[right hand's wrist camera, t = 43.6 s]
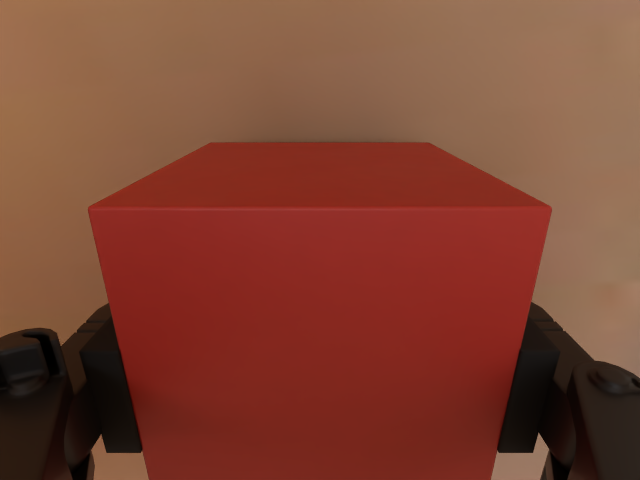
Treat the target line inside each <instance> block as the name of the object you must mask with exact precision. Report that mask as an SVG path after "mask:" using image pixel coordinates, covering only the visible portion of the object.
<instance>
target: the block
mask: <svg viewBox="0 0 640 480" xmlns="http://www.w3.org/2000/svg"><path fill="white" fill-rule="evenodd" d="M551 212H552V208H551V206H549V205H547V204H545V203H543V202H541V201H539V200H537V199H535V198H533V197H532V196H530V195H528V194H526V193H524V192H522V191H520V190H518V189H516V188H514V187H512V186H511V185H509V184H507V183H505V182H503V181H501V180H499V179H497V178H495V177H493V176H491V175H489V174H488V173H486V172H484V171H482V170H480V169H478V168H476V167H474V166H472V165H470V164H468V163H467V162H465V161H463V160H461V159H459V158H457V157H455V156H453V155H451V154H449V153H447V152H446V151H444V150H442V149H440V148H438V147H436V146H434V145H432V144H430V143H209V144H207V145H205V146H203V147H201V148H200V149H198V150H196V151H194V152H192V153H190V154H188V155H186V156H184V157H182V158H181V159H179V160H177V161H175V162H173V163H171V164H169V165H167V166H165V167H163V168H162V169H160V170H158V171H156V172H154V173H152V174H150V175H148V176H146V177H144V178H143V179H141V180H139V181H137V182H135V183H133V184H131V185H129V186H127V187H125V188H124V189H122V190H120V191H118V192H116V193H114V194H112V195H110V196H108V197H106V198H104V199H103V200H101V201H99V202H97V203H95V204H93V205H91V206H89V208H88V213H89V217H90V222H91V226H92V230H93V235H94V239H95V244H96V248H97V252H98V257H99V261H100V266H101V270H102V274H103V279H104V283H105V288H106V292H107V296H108V301H109V305H110V310H111V314H112V318H113V323H114V327H115V332H116V336H117V341H118V345H119V349H120V353H121V358H122V362H123V367H124V371H125V375H126V380H127V384H128V389H129V393H130V397H131V402H132V406H133V411H134V415H135V419H136V424H137V428H138V433H139V437H140V441H141V446H142V451H143V455H144V460H145V464H146V468H147V473H148V477H149V480H491V476H492V471H493V467H494V463H495V458H496V454H497V447H498V443H499V438H500V434H501V430H502V425H503V421H504V416H505V412H506V408H507V403H508V399H509V394H510V390H511V386H512V381H513V377H514V372H515V368H516V363H517V359H518V355H519V350H520V348H521V344H522V339H523V335H524V331H525V326H526V322H527V318H528V313H529V309H530V304H531V300H532V296H533V291H534V287H535V282H536V278H537V274H538V269H539V265H540V260H541V256H542V252H543V247H544V243H545V238H546V234H547V230H548V225H549V221H550V216H551Z"/></svg>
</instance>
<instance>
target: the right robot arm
mask: <svg viewBox="0 0 640 480" xmlns="http://www.w3.org/2000/svg"><path fill="white" fill-rule="evenodd" d="M538 432H539V434H540V435H541V437H542V438H543V440H544V442H545V443H546V445H547V446H548V448H549V451H548V455H547V458H546V462H545V465H544V468H543V472H542V475H541V479H540V480H640V378H639V377H637V376H636V375H634V374H633V373H631V372H629V371H627V370H625V369H623V368H621V367H619V366H616V365H613V364H609V363H606V362H601V361H594V360H593V359H592V358H591V357H590V356H589V355H588V354H587V353H586V352H585V351H584V350H583V349H582V348H581V347H580V346H579V345H578V344H577V343H576V342H575V341H574V340H573V339H572V338H571V337H570V336H569V335H568V334H567V333H566V332H565V331H563V328H562V327H561V326H560V325H559V324H558V323H557V322H554V321H553V318H552V317H551V316H550V315H549V314H548V313H547V312H546V311H545V310H544V309H543V308H541V307H539V306H538V305H536V304H534V303H532V302H531V304H530V309H529V313H528V318H527V322H526V326H525V331H524V335H523V339H522V344H521V348H520V350H519V355H518V359H517V363H516V368H515V372H514V377H513V381H512V386H511V390H510V394H509V399H508V403H507V408H506V412H505V416H504V421H503V425H502V430H501V434H500V438H499V443H498V447H497V450H498V452H499V453H533V451H534V447H535V443H536V440H537V436H538ZM101 434H102V438H103V442H104V445H105V449H106V452H107V453H141V451H142V446H141V441H140V437H139V433H138V428H137V424H136V419H135V415H134V411H133V406H132V402H131V397H130V393H129V389H128V384H127V380H126V375H125V371H124V367H123V362H122V358H121V353H120V349H119V345H118V341H117V336H116V332H115V327H114V323H113V318H112V314H111V310H110V305H109V303H108V304H106V305H104V306H103V307H101V308H99V309H98V310H97V311H96V312H95V313H94V314H93V315H92V316H91V317H90V318H89V319H88V320H87V321H86V323H84V324H83V325H82V326H81V327H80V328H79V329H78V330H77V333H74V334H73V335H72V336H71V337H70V338H69V339H68V340H67V341H66V342H65V343H64V344H63V345H62V346H60V342H59V339H58V336H57V333H56V332H54V331H53V330H51V329H45V328H34V329H25V330H21V331H18V332H14V333H10V334H8V335H5V336H3V337H1V338H0V480H93V477H94V469H95V464H94V459H93V455H92V451H91V449H92V448H93V446H94V444H95V443H96V441H97V440H98V438H99V436H100V435H101Z"/></svg>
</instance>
